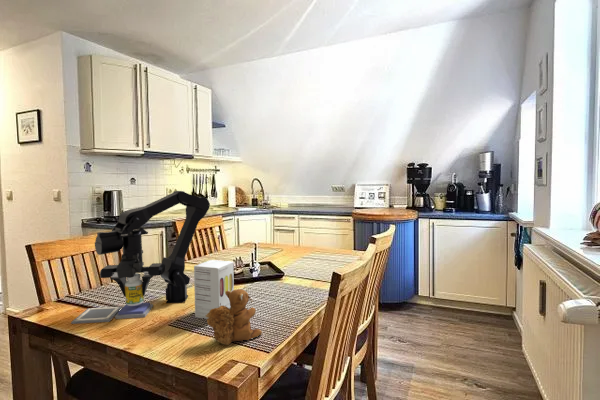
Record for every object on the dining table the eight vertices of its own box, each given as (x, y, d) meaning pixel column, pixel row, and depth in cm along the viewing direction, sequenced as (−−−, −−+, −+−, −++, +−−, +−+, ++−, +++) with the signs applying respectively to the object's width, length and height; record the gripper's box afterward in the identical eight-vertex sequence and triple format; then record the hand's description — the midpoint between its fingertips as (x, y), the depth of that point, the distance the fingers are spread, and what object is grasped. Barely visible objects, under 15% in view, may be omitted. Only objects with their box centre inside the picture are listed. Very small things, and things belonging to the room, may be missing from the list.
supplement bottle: (142, 299, 120) (141, 271, 120) (145, 304, 116) (144, 275, 115) (124, 302, 117) (123, 274, 117) (127, 307, 113) (125, 278, 112)
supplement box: (219, 321, 109) (217, 268, 108) (194, 317, 112) (192, 265, 111) (235, 310, 118) (234, 261, 117) (211, 307, 121) (210, 258, 120)
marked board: (122, 308, 121) (122, 306, 121) (109, 321, 110) (109, 319, 110) (88, 310, 119) (88, 307, 119) (71, 323, 108) (71, 321, 108)
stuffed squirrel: (264, 335, 100) (264, 289, 99) (223, 353, 90) (222, 303, 89) (242, 324, 107) (241, 282, 106) (201, 341, 97) (200, 294, 96)
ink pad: (153, 306, 122) (152, 301, 122) (145, 317, 113) (144, 311, 113) (125, 308, 121) (125, 303, 121) (115, 318, 112) (115, 313, 112)
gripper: (90, 256, 106) (93, 306, 107) (155, 253, 109) (157, 303, 110) (106, 248, 117) (108, 294, 118) (164, 246, 120) (166, 291, 121)
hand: (134, 295), depth 117 cm, fingers closed on supplement bottle, 5 cm apart
